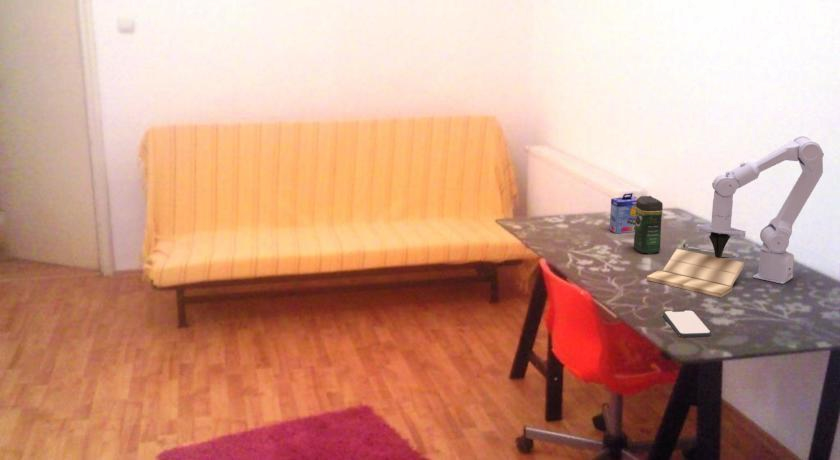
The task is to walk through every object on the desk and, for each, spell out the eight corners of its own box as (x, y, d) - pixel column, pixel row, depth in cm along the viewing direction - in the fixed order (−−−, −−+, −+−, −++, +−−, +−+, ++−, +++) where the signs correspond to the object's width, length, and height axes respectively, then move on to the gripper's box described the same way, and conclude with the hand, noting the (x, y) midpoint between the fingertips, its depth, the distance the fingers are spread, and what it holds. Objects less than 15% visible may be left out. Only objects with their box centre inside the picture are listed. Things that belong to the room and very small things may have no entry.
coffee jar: (663, 253, 300) (666, 200, 294) (640, 255, 299) (643, 201, 294) (652, 245, 309) (655, 193, 304) (630, 246, 308) (633, 194, 303)
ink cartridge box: (616, 234, 323) (617, 195, 319) (608, 230, 328) (610, 192, 324) (640, 231, 326) (642, 193, 322) (632, 227, 331) (634, 189, 327)
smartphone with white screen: (712, 338, 232) (693, 315, 247) (713, 333, 232) (693, 309, 247) (679, 340, 232) (661, 316, 247) (679, 334, 231) (661, 310, 247)
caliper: (680, 262, 291) (681, 244, 289) (678, 261, 292) (679, 243, 290) (736, 257, 295) (737, 239, 294) (734, 256, 296) (735, 238, 295)
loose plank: (744, 265, 271) (743, 262, 270) (730, 288, 266) (730, 285, 265) (677, 251, 285) (676, 248, 284) (663, 272, 280) (662, 270, 280)
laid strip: (732, 290, 265) (732, 286, 264) (720, 297, 259) (721, 293, 259) (659, 273, 280) (659, 269, 280) (646, 280, 275) (646, 276, 274)
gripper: (750, 214, 270) (746, 257, 274) (703, 208, 278) (699, 249, 282) (742, 220, 265) (738, 263, 268) (695, 213, 273) (691, 255, 277)
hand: (718, 256), depth 275 cm, fingers closed
